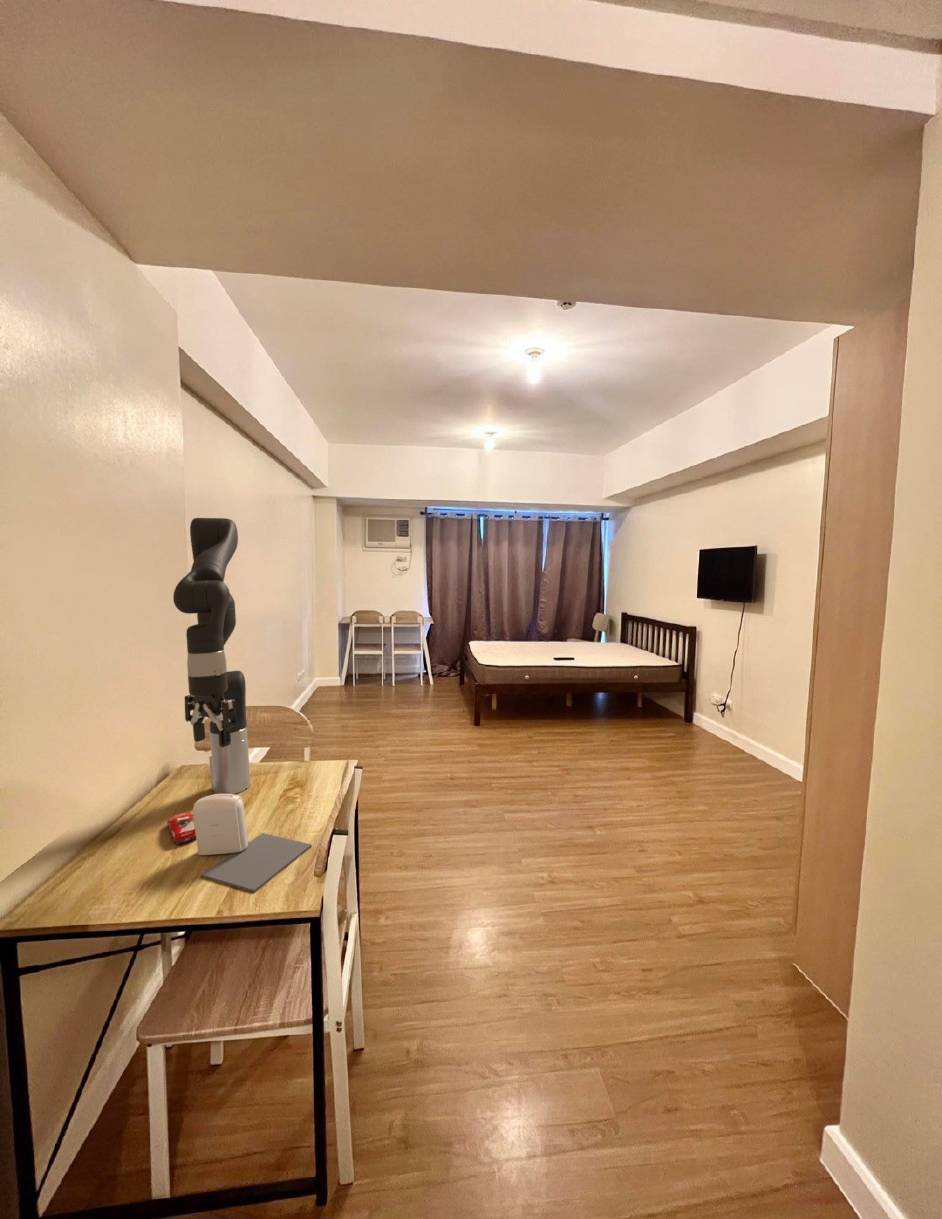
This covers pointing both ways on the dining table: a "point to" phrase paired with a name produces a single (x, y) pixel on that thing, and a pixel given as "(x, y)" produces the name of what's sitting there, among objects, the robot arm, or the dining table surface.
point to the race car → (182, 827)
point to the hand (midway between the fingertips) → (212, 743)
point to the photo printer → (220, 824)
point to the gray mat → (257, 862)
